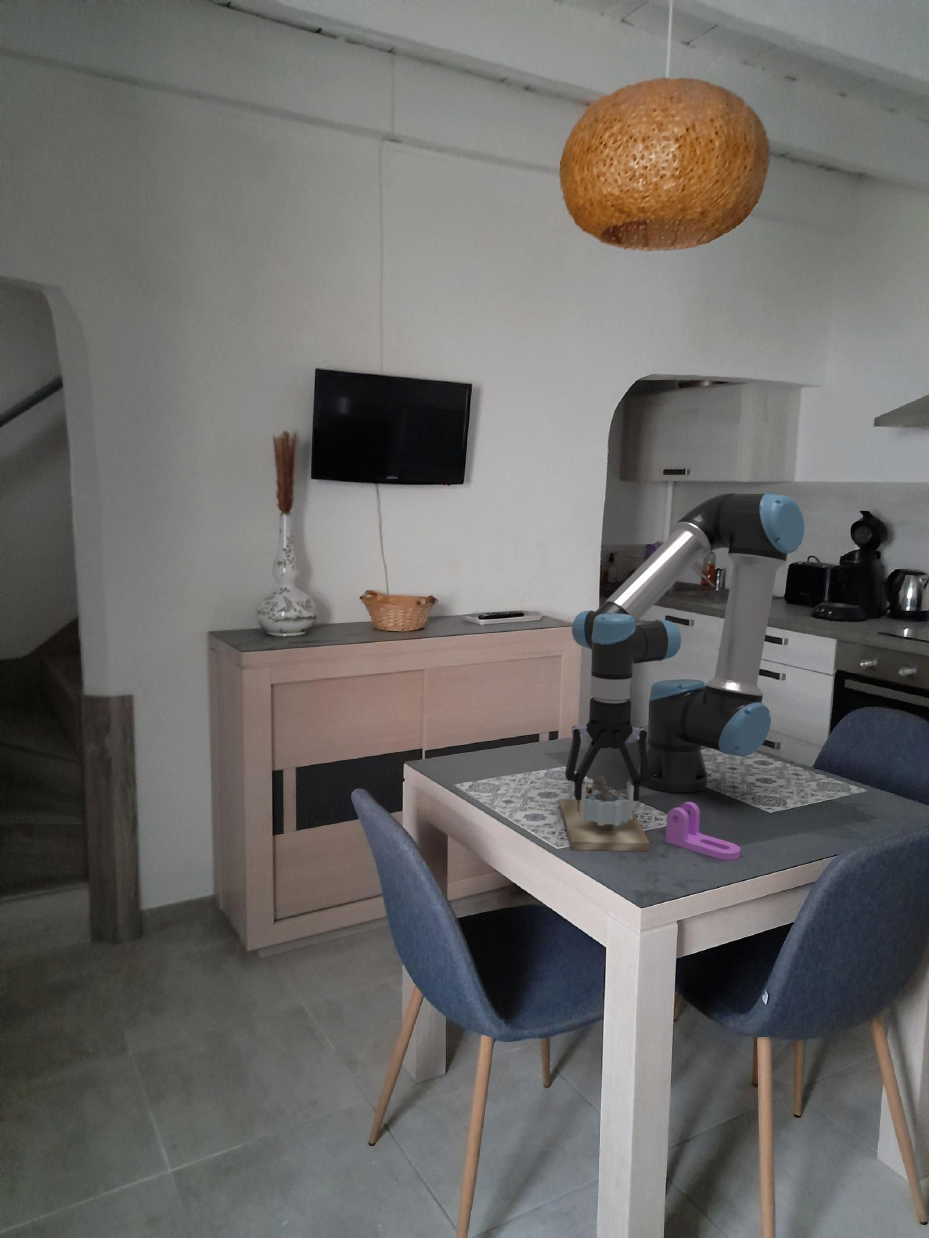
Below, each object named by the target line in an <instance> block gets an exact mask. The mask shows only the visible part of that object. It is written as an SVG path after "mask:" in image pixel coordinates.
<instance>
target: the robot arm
mask: <svg viewBox="0 0 929 1238" xmlns="http://www.w3.org/2000/svg"><path fill="white" fill-rule="evenodd" d="M804 533H805V522H804V516H803V512H802V511H801V508H800V506H799V504H798V502H797V501H795V500H794V499H793V498H792V497H789V496H788V495H783V494H774V493H735V492H731V493H723V494H718V495H716V496H713V497H710V498H709V499H706V500H705V501H703V502H701V503H699V504H698V505H697V506H695V507H694V508H692V509H691V510H689V511H688V512H687V513H686V514H684V516H682V517H681V518H680V519H679V520H678V521H677V522H676V523H675V524H674V525H673V526H672V528H671V534H670V536H669V537H668V538H667V539H666V540H665V541H664V542H663V543H662V544H661V545H660V546H659V547H657V549H656V550H655V551H654V552H653V553H652V554H651V555H649V557H647V559H646V560H645V561H644V562H643V563H642V564H641V565H640V566H639V567H638V568H637V569H635V571H634V572H633V573H632V574H631V575H630V576H629V577H628V578H627V579H626V580H625V581H624V582H623V583H622V584H621V585H620V586H619V587H618V588H617V589H616V590H615V591H614V592H613V593H612V594H611V595H610V596H609V597H608V598H607V599H606V600H605V601H604V603H603V604H602V605H600V606H599V607H598V608H597V609H596V610H584V611H582V612H579V613H578V614H577V615H576V616H575V617H574V620H573V622H572V626H571V633H572V638H573V640H574V641H575V643H576V644H577V645H579V646H580V647H583V648H587V649H589V650H591V669H590V670H591V672H590V673H591V675H590V689H589V691H590V693H589V695H590V696H591V698H590V699H589V715H588V716H589V717H588V722H587V723H586V725H585V726H580V727H578V726H576V725H574V726H572V727H571V733H572V741H571V745H570V746H571V747H570V749H569V755H568V759H567V763H566V768H565V773H564V775H565V778H566V780H567V781H570V782H573V783H574V790H573V791H574V792H573V796H574V798H575V799H576V800H580V803H579V815H580V818H581V819H585V805H586V787H587V783H586V781H585V778H586V776H587V774H588V773H589V770H590V768H591V767H592V764H593V762H594V761H595V758H596V756H597V754H598V753H600V752H599V751H600V750H601V749H609V748H611V749H614V750H619V752H620V755H621V757H622V760H623V763H624V764H625V767H626V769H627V772H628V774H629V777H630V779H631V780H627V781H626V795H627V800H629V812H628V820H632V815H633V812H634V802H638V801H639V799H640V786H641V785H643V786H645V787H647V788H650V789H653V790H656V791H661V792H669V793H675V794H676V793H679V794H681V793H682V794H686V793H695V792H699V791H703V790H705V789H706V788H707V786H708V780H709V779H708V776H709V775H708V772H707V771H708V770H707V769H706V763H705V760H704V757H703V754H702V753H703V752H702V747H705V748H709V749H712V750H715V751H719V752H721V753H723V754H724V755H733V756H736V757H747V756H750V755H752V754H753V753H755V752H757V751H758V750H759V748H761V746H762V745H763V744H764V742H765V741H766V739H767V737H768V735H769V731H770V727H771V723H772V716H771V714H770V710H769V707H767V706H766V705H765V704H764V703H763V698H764V697H763V696H764V693H763V691H762V690H761V688H760V687H759V685H758V682H759V674H760V669H761V663H762V657H763V652H764V646H765V640H766V633H767V630H768V622H769V616H770V612H771V607H772V606H771V605H772V599H773V593H774V588H775V582H776V577H777V571H778V570H779V569H780V568H781V567H783V566H784V565H786V563H787V561H788V560H787V559H788V554H792V553H795V551H797V550H798V549H799V547H800V545H801V544H802V542H803V539H804V536H805V535H804ZM724 548H725V549H726V548H727V549H728V552H727V556H728V558H729V559H730V561H731V562H732V564H733V566H732V567H733V568H732V573H731V579H730V585H729V591H728V597H727V603H726V608H725V612H724V613H725V614H724V620H723V625H722V632H721V638H720V642H719V648H718V654H717V655H718V656H717V661H716V666H715V672H714V677H713V678H712V679H710V680H709V681H707V682H706V683H705V682H704V681H702V680H700V679H689V678H688V679H686V678H685V679H683V678H681V679H680V678H679V679H667V680H661V681H657V682H655V683H653V684H652V685H651V687H650V692H649V693H650V694H649V699H648V721H647V722H648V725H647V731H646V729H645V728H644V727H643V726H642V727H641V726H640V727H639V728H638V727H633V726H632V724H631V723H632V722H631V715H632V713H631V712H632V701H631V700H630V699H631V698H632V693H633V692H632V691H633V671H634V665H635V664H642V663H649V662H657V661H658V662H661V661H664V660H667V659H668V660H669V659H670V658H673V657H674V656H676V655H677V654H678V653H679V651H680V648H681V645H682V636H681V635H682V634H681V632H680V629H679V628H678V626H677V625H676V624H675V623H673V622H672V621H671V620H666V619H665V620H664V619H663V620H661V619H655V620H643V619H642V618H643V616H645V614H647V613H648V612H649V611H650V609H651V608H652V607H653V606H654V605H655V604H656V603H657V602H658V601H659V600H660V599H661V598H662V597H663V596H664V595H665V593H666V592H668V591H669V589H671V587H672V586H673V585H674V584H675V583H676V582H677V581H678V580H679V579H680V578H681V577H682V576H683V575H684V574H685V573H686V572H687V571H688V569H690V568H691V567H692V565H694V563H696V561H697V560H702V559H705V558H707V557H708V556H709V555H710V554H711V553H712V552H713V551H716V550H719V549H724ZM586 734H588V735H589V737H590V738H591V742H590V743H589V747H588V748H587V751H586V753H585V755H584V757H583V759H582V760H581V763H580V765H579V767H578V769H577V771H576V766H577V763H578V759H579V753H580V748H581V744H582V740H583V739H584V738H585V735H586ZM631 735H633V738H634V739H635V742H636V748H637V755H638V757H637V758H638V762H639V763H638V764H639V767H638V770H636V768H635V766H634V763H633V760H632V758H631V756H630V753H629V750H628V748H627V746H626V741H627V740H628V739H629V737H630V736H631ZM646 740H647V746H646ZM575 771H576V772H575ZM637 771H638V772H637Z"/></svg>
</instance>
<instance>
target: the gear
mask: <svg viewBox="0 0 929 1238" xmlns="http://www.w3.org/2000/svg"><path fill="white" fill-rule="evenodd" d="M609 791H610V792H611V793H612V794H613V797H614V801H613V802H612V801H601V800H599V795H600V793H601V791H598V790H592V793H591V794H587V793H586V805H585V820H586V821H594V822H596V823H597V825H601V826H603V825H604V824H613V825H614V826H619V825H620V822H628V812H629V800H627V794H625V793H621V794H617V793H614V791H615V790H614V791H611V790H609Z"/></svg>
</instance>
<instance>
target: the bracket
mask: <svg viewBox="0 0 929 1238" xmlns="http://www.w3.org/2000/svg"><path fill="white" fill-rule="evenodd" d="M688 811H689V812H690V814H689V812H688ZM700 816H701V812H700V808H699V806H698V805H697V804H696V803H695V802H693V801H685V802H684V803H682V804H680V805H679V807H677V806H676V807H674V808H672V809H670V810H669V811H668V812H667V815H666V827H665V828H666V830H665V843H667V844H670V845H673V846H676V847H680V848H683V849H686V850H689V851H692V852H696V853H698V854H702V855H704V856H705V855H706V856H708V857H710V858H711V857H712V858H713V859H714V858H715V859H718V860H722V861H735V860H737V859H740V858H741V847H740V846H739V845H737V844H736V843H733V842H729V841H727V840H723V839H720V838H716V837H713V836H710V835H706V834H703V833H701V832H700V819H701V817H700Z"/></svg>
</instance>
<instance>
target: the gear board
mask: <svg viewBox="0 0 929 1238" xmlns="http://www.w3.org/2000/svg"><path fill="white" fill-rule="evenodd" d="M591 785H592V786H591V787H587V786H586V793H587V794H591V793H592V790H598V791H601V793H600V795H599V800H601V801H612V802H613V801H614V797H613V794H612V793H611V792H610V791H609V790H611V791H614V793H617V794H622V793H621V792H620V791H615V788H614V787H610V786H609V787H608V783H607V779H606V778H605V777H604V776H602V775H598V776H596V777H594V778H593V780H592V784H591ZM558 802H559V803H558V807H559V810H560V815H561V817H562V818H561V819H562V822H563V823H564V828H565V831H566V835H567V838H568V841H569V845H570V848H571V850H572V851H574V850H575V851H622V852H623V851H624V852H625V851H627V852H629V851H630V852H650V847H651V845H650V842H649V839H648V838H647V835H646V834H645V831H644V829H643V828H642V825H641V823H640V822H639V820H638V818H637V816H636V814H635V812H634V811H633V815H632V820H628V822H620V825H619V826H614V825H613V824H604V825H603V826H601V825H597V823H596V822H594V821H586V820H585V819H581V818H580V815H579V803H580V800H576V799H572V798H571V799H570V798H569V799H568V798H566V799H565V798H563V799H562V798H561V799H560V798H559V801H558Z"/></svg>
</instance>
